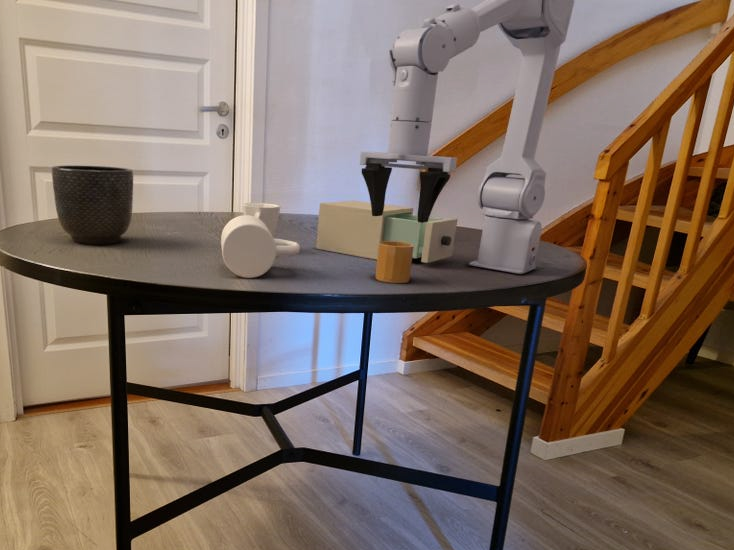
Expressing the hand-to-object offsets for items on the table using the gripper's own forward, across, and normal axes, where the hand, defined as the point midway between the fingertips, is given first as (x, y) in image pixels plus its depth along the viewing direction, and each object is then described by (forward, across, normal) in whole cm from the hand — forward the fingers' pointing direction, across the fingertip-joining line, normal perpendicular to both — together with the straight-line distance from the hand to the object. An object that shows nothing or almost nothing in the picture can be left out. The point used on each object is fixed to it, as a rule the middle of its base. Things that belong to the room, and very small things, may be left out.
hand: (399, 218), depth 92 cm
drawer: (+8, -6, +18) cm, 21 cm away
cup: (+10, -28, +2) cm, 30 cm away
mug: (+10, -16, -12) cm, 23 cm away
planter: (+10, -52, -16) cm, 56 cm away
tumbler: (+9, 0, 0) cm, 9 cm away
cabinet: (+9, -16, +18) cm, 26 cm away
